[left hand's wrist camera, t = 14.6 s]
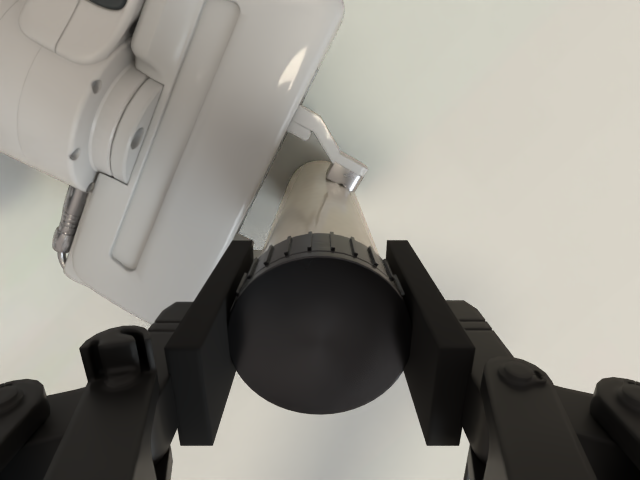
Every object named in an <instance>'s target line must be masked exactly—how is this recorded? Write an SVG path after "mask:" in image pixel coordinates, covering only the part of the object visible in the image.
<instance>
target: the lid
mask: <svg viewBox="0 0 640 480" xmlns="http://www.w3.org/2000/svg"><path fill="white" fill-rule="evenodd" d="M235 295H236V298H235V301H234V303H233V305H232V308H231V310H230V316H229V319H228V324H227V333H228V343H229V353H230V357H231V360H232V363H233V365H234V367H235V369H236V371H237V372H238V374H239V375H240V377H241V378H242V379H243V381H244V382H245V383H246V384H247V385H248V386H249V387H250V388H251V389H252V390H253V391H254V392H256V393H257V394H258V395H259V396H261V397H262V398H264V399H265V400H267V401H269V402H271V403H273V404H275V405H277V406H279V407H282V408H285V409H287V410H291V411H295V412H299V413H306V414H334V413H340V412H345V411H349V410H352V409H355V408H358V407H360V406H363V405H365V404H367V403H369V402H371V401H373V400H374V399H376V398H377V397H379V396H380V395H382V394H383V393H384V392H385V391H386V390H388V389H389V388H390V387H391V386H392V385H393V384H394V382H395V381H396V380H397V379H398V378H399V376H400V375H401V373H402V372H403V370H404V368H405V366H406V364H407V362H408V359H409V356H410V349H411V338H412V320H411V316H410V313H409V310H408V307H407V305H406V303H405V301H404V298H405V297H406V295H405V293H404V291H403V289H402V286H401V284H400V282H399V280H398V277H397V275H396V274H395V275H393V274H392V271H391V269H390V267H389V264H388V262H387V260H386V259H384V260H382V258H381V257H380V256H379V255H378V254H376V253H375V252H374V250H373V248H372V247H371V246H369V247H367V246H365V245H364V244H362V243H360V242H358V241H356V240H355V239H354V237H352V236H351V237H350V238H348V237H344V236H341V235H336V234H334V232H330V233H312V231H310V232H308V234H304V235H299V236H295V237H291V236H288V237H287V239H286V240H284V241H282V242H280V243H278V244H276V245H274V246H273V245H270V246H269V248H268V250H267V251H266V252H265V253H263V254H262V255H261V256H260V257H259V258H257V257H256V258H255V259H254V260H253V263H252V265H251V268H250V270H249V271H248V273H244V275H243V277H242V279H241V281H240V284H239V286H238V288H237V290H236V293H235Z"/></svg>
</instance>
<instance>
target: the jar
mask: <svg viewBox="0 0 640 480" xmlns="http://www.w3.org/2000/svg"><path fill="white" fill-rule="evenodd" d="M330 163H331V162H328V161H322V160H317V161H311V162H308V163H306V164H304V165H302V166H301V167H299V168H298V169H297V170H296V171H295V172H294V174H293V175H292V177H291V179H290V181H289V183H288V186H287V189H286V191H285V194H284V196H283V199H282V201H281V204H280V207H279V209H278V212H277V214H276V217H275V219H274V222H273V224H272V227H271V230H270V232H269V235H268V237H267V240H266V242H265V245H264V248H263V250H262V253H261V255H262V254H263V253H265V252H266V251H267V250H268V248H269V246H270V245H273V246H274V245H276V244H278V243H280V242H282V241H284V240H286V239H287V237H288V236H291V237H295V236H299V235H304V234H308V232H310V231H312V233H330V232H334V234H336V235H341V236H344V237H348V238H350V237H351V236H352V237H354V239H355V240H356V241H358V242H360V243H362V244H364V245H365V246H367V247H369V246H371V247H372V248H373V250H374V252H375V253H376V254H378V251H377V248H376V246H375V243H374V241H373V238H372V236H371V233H370V230H369V228H368V225H367V223H366V220H365V218H364V215H363V213H362V210H361V207H360V205H359V202H358V200H357V197H356V195H355V192H351V191H349V190H347V189H346V188H344V186H343V184H337V183H334V182H332V181H331V180H329V179H327V178H326V171H327V169H328V167H329V165H330ZM261 255H260V256H261ZM378 255H379V254H378Z"/></svg>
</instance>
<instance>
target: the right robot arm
mask: <svg viewBox="0 0 640 480" xmlns="http://www.w3.org/2000/svg"><path fill="white" fill-rule="evenodd" d="M344 12H345V7H344V3H343V0H0V152H1V153H3V154H5V155H7V156H10V157H12V158H14V159H16V160H18V161H20V162H22V163H24V164H26V165H28V166H30V167H33V168H35V169H37V170H39V171H41V172H43V173H45V174H47V175H49V176H51V177H54V178H56V179H58V180H60V181H62V182H64V183H66V184H68V185H69V188H68V192H67V195H66V198H65V201H64V205H63V211H62V217H61V222H60V224H59V226H58V227H57V229H56V230H55V233H54V236H53V242H52V247H53V249H54V250H55V251H57V252H58V259H59V262H60V265H61V266H62V268H63V271H64V274H65V275H66V276H67V277H69V278H70V279H72V280H73V281H76V282H78V283H80V284H82V285H85V286H87V287H89V288H91V289H92V290H93V291H95V292H96V293H98V294H99V295H101V296H102V297H104V298H106V299H107V300H109V301H110V302H112V303H114V304H115V305H117V306H119V307H120V308H122V309H124V310H126V311H127V312H129V313H131V314H133V315H135V316H136V317H138V318H140V319H142V320H144V321H146V322H148V323H150V324H153V323H155V320H156V319H157V317H158V316H159V315H160V313H161V312H162V311H163V310H164V309H166V308H167V307H169V306H170V305H172V304H173V303H175V302H193V301H194V300H195V298H196V297H197V295H198V294H199V292H200V290H201V289H202V287H203V286H204V284H205V282H206V281H207V279H208V278H209V276H210V275H211V273H212V271H213V270H214V268H215V267H216V265H217V264H218V262H219V260H220V259H221V257H222V256H223V254H224V253H225V251H226V249H227V248H228V246H229V245H230V243H231V242H232V240H250V239H248V238H246V237H244V236H242V235H240V234H238V232H239V230H240V228H241V226H242V224H243V222H244V220H245V218H246V216H247V214H248V212H249V210H250V208H251V206H252V204H253V202H254V200H255V198H256V196H257V194H258V192H259V190H260V188H261V186H262V184H263V182H264V180H265V177H266V175H267V173H268V171H269V169H270V167H271V165H272V163H273V161H274V159H275V157H276V155H277V153H278V151H279V149H280V147H281V145H282V143H283V141H284V139H285V137H286V135H287V133H288V132H289V133H291V134H293V135H295V136H297V137H299V138H300V139H302V140H304V141H306V140H308V139H309V137H310V135H311V133H312V132H313V133H314V134H315V136H316V137H317V139H318V141H319V142H320V144H321V146H322V147H323V149H324V150H325V152H326V154H327V155H328V157H329V159H330V160H331V163H330V165H329V167H328V169H327V171H326V178H327V179H329V180H331V181H332V182H334V183H337V184H343V186H344V188H346V189H347V190H349V191H351V192H355V190H356V189H357V187H358V186H359V184H360V182H361V181H362V179H363V177H364V175H365V174H366V172H367V170H368V168H367V166H366V165H364V164H363V163H361V162H360V161H358V160H356V159H354V158H353V157H351V156H349V155H347V154H345V153H344V152H342V151H340V149H339V147H338V145H337V143H336V142H335V140H334V138H333V136H332V135H331V133H330V131H329V130H328V128H327V126H326V125H325V123H324V121H323V120H322V118H321V116H320V115H318V114H316V113H315V112H313V111H311V110H309V109H308V108H306V107H304V106H302V103H303V100H304V98H305V96H306V94H307V92H308V90H309V88H310V86H311V84H312V82H313V80H314V78H315V76H316V74H317V72H318V70H319V68H320V66H321V64H322V62H323V60H324V58H325V56H326V54H327V52H328V50H329V48H330V46H331V44H332V42H333V40H334V38H335V36H336V34H337V32H338V29H339V27H340V25H341V23H342V20H343V18H344ZM253 245H254V241H253ZM66 253H69V254H68V257H67V258H66ZM261 253H262V250H253V256H254V259H255V258H256V257H257V258H259V257H260V255H261Z"/></svg>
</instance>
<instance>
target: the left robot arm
mask: <svg viewBox="0 0 640 480" xmlns="http://www.w3.org/2000/svg"><path fill="white" fill-rule="evenodd" d="M253 260H254V256H253V240H232V242H231V243H230V245H229V246H228V248H227V249H226V251H225V253H224V254H223V256H222V257H221V259H220V260H219V262H218V264H217V265H216V267H215V268H214V270H213V271H212V273H211V275H210V276H209V278H208V279H207V281H206V282H205V284H204V286H203V287H202V289H201V290H200V292H199V294H198V295H197V297H196V298H195V300H194V301H193V302H175V303H173V304H172V305H170V306H169V307H167V308H166V309H164V310H163V311H162V312H161V313H160V315H159V316H158V317H157V319H156V320H155V323H153V324H152V325H151V326H150V328H149V329H148V330H146V329H145V328H143V327H139V326H120V327H116V328H111V329H108V330H105V331H103V332H100V333H98V334H96V335H94V336H93V337H91V338H90V339H88V340H86V341H85V343H84V344H83V345H82V346H81V347H80V348H79V349H80V353H81V357H82V361H83V365H84V368H85V372H86V376H87V380H88V383H87V385H86V387H84V388H80V389H76V390H72V391H67V392H62V393H58V394H53V395H48V396H46V393H45V389H44V386H43V385H42V384H41V383H40V382H39V381H37V380H31V379H23V380H15V381H10V382H6V383H3V384H0V480H171V472H172V463H173V459H172V452H171V446H170V444H171V442H172V439H173V437H174V435H175V432H176V430H177V428H178V434H179V440H180V446H213V443H214V440H215V437H216V434H217V430H218V427H219V424H220V421H221V418H222V414H223V411H224V408H225V405H226V401H227V398H228V395H229V392H230V389H231V385H232V382H233V379H234V376H235V373H236V369H235V367H234V365H233V363H232V360H231V357H230V353H229V343H228V333H227V324H228V319H229V316H230V310H231V308H232V305H233V303H234V301H235V298H236V295H235V293H236V290H237V288H238V286H239V284H240V281H241V279H242V277H243V275H244V273H248V271H249V270H250V268H251V265H252V263H253ZM386 260H387V262H388V264H389V267H390V269H391V271H392V274H393V275H395V274H396V275H397V277H398V280H399V282H400V284H401V286H402V289H403V291H404V293H405V295H406V297H405V298H404V301H405V303H406V305H407V307H408V310H409V313H410V316H411V320H412V338H411V349H410V356H409V359H408V362H407V364H406V366H405V368H404V370H403V371H404V374H405V377H406V380H407V383H408V387H409V390H410V393H411V396H412V400H413V403H414V406H415V409H416V412H417V416H418V419H419V422H420V425H421V428H422V432H423V435H424V438H425V441H426V444H427V446H459V443H460V438H461V432H462V427H463V429H464V431H465V434H466V436H467V438H468V440H469V443H470V446H469V452H468V457H467V463H466V468H465V474H464V480H469V479H470V480H640V382H637V381H636V382H635V381H633V380H629V379H624V378H616V377H611V378H604V379H602V380H600V381H599V382H598V383H597V385H596V388H595V391H594V394H590V393H585V392H581V391H576V390H571V389H567V388H562V387H559V386H555V385H553V382H552V381H551V379H550V378H549V377H548V375H547V374H546V373H545V372H544V371H542V370H541V369H540V368H538V367H537V366H536V365H533V364H531V363H529V362H527V361H525V360H522V359H518V358H514V357H513V356H512V354H511V353H510V352H509V350H508V349H507V348H506V346H505V345H504V344H503V342H502V341H501V340H500V338H499V337H498V336H497V335H496V333H495V332H494V331H493V330H492V328H491V327H490V325H489V324H488V323H487V322H485V319H484V317H483V316H482V315H481V314H480V312H479V311H478V310H477V309H476V308H475V307H473V306H471V305H470V304H468V303H467V302H465V301H464V300H445V299H444V297H443V296H442V294H441V293H440V291H439V289H438V288H437V286H436V285H435V283H434V282H433V280H432V278H431V277H430V275H429V274H428V272H427V271H426V269H425V267H424V266H423V264H422V263H421V261H420V260H419V258H418V256H417V255H416V253H415V252H414V250H413V249H412V247H411V245H410V244H409V242H408V241H407V240H387V249H386Z"/></svg>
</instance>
